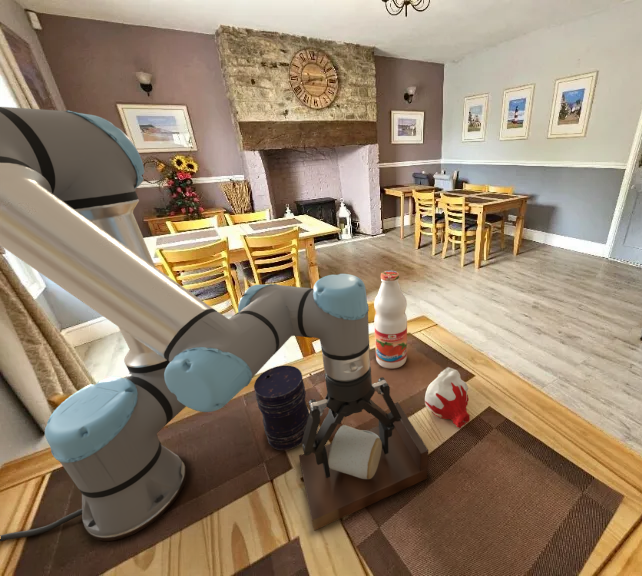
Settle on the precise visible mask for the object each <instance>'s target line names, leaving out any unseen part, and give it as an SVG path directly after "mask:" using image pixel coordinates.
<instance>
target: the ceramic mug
mask: <svg viewBox="0 0 642 576" xmlns="http://www.w3.org/2000/svg"><path fill="white" fill-rule="evenodd" d="M366 430H367V429H366ZM366 430H365V429H357V428H355V427H352V426H349V425H345V424H342V425H341V426H340V427H339V428H338V429H337V431H336V433H335V435H334V437H333V439H332V441H331V443H332V444H331V443H330V444H331V447H330V452H329V459H328V464H329V467H330V468H331V469H332V470H336V471H339V472H343V473H346V474H349V475H352V476H355V477H358V478H361V479H371V478H372V477H373V476H374V474H375V472H376V470H377V467H378V464H379V460H380V456H381V450H382V442H381V440H380V438H379V436H378V435H376V434H375V433H373V432H370V431H366Z"/></svg>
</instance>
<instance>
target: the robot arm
mask: <svg viewBox="0 0 642 576" xmlns="http://www.w3.org/2000/svg"><path fill="white" fill-rule="evenodd" d="M144 174H145V167H144V162H143V159H142V157H141V154H140V153H139V151H138V148H137V147H136V146H135V144H134V143H133V141H132V140H131V139H130V138H129V136H128V135H127V134H126V133H125V132H124V131H123V130H122V129H121V128H119V127H117V126H116V125H115V124H113V122H111V121H109V120H108V119H106V118H104V117H101V116H98V115H94V114H89V113H88V114H87V113H83V112H77V111H72V110H69V109H68V110H57V109H43V108H41V109H40V108H27V107H26V108H25V107H12V106H10V107H8V106H0V247H2V248H3V249H5V250H6V251H8V252H9V253H10V254H11V255H14V256H15V257H17V259H19V260H21V261H23V262H24V263H25V264H26V265H28V266H29V267H31V268H32V269H34V270H36V271H37V272H38V273H39V274H41V275H42V276H44V277H45V278H47V279H48V280H50V281H51V282H53V283H54V284H55V285H57V286H59V288H61V289H63V290H64V291H66V292H67V293H69V295H72V296H73V297H74V298H76V299H78V301H80V302H81V303H83V304H85V305H86V306H87V307H89V308H91V309H92V310H93V311H95V312H96V313H98V315H101V316H102V317H104V318H105V319H106V320H108V321H109V322H111V323H112V324H113V325H115V326H116V327H118V329H119V331H120V333H121V335H122V337H123V339H124V341H125V343H126V345H127V347H128V349H129V350H128V351H127V353H126V354H125V356H124V357H123V358H124V360H123V361H124V365H125V366H126V368H127V370H128V372H129V373H128V374H127V375H126V376H124V377H118V376H117V377H116V376H115V377H109V378H104V379H101V380H98V382H97V383H95V384H93V383H91V384H88V385H87V386H84V387H82V388H81V389H79V390H77V391H76V392H74V393H72V394H71V395H70V396H68V397H67V398H66V399H65V400H64V401H62V402H61V403H60V404H59V405H58V406H57V407H56V408H55V409H54V410H53V411H52V413H51V415H50V416H49V418H48V420H47V422H46V426H45V427H44V438H45V440H46V442H47V443H48V446H49V447H50V453H51V455H52V456H53V458H54V459H55V460H56V461H58V462H59V463H60V464H61V466H62V467H63V469H64V470H65V471H66V474H68V476H69V478H70V479H71V480H72V481H73V483H74V485H75V486H76V487H77V489H78V490H79V492H80V493H81V508H80V509H77V510H76V511H74V512H72V513H69V514H68V515H66V516H64V517H62V518H60V519H57V520H55V521H54V522H51V523H50V524H47V525H45V526H41V527H37V528H32V529H27V530H22V531H20V530H19V531H14V532H9V533H4V534H1V535H0V536H1V539H0V542H5V541H10V540H18V539H22V538H23V539H24V538H29V537H33V536H38V535H40V534H43V533H47V532H50V531H52V530H54V529H56V528H58V527H60V526H61V525H64V524H65V523H67V522H69V521H71V520H73V519H76V518H78V517H80V516H81V519H82V524H83V526H84V528H85V530H86V531H87V533H88V534H89V535H90V537H92V538H93V539H95V540H97V541H103V542H112V541H117V540H121V539H124V538H127V537H129V536H132V535H134V534H136V533H138V532H140V531H141V530H144V529H145V528H147V527H148V526H150V525H151V524H152V523H154V522H155V521H157V520H158V519H159V518H160V517H161V516H162V515H164V514H165V513H166V512H167V511H168V509H169V508H170V507H171V506H172V505H173V504H174V503H175V502H176V500H177V499H178V497H179V495H180V494H181V492H182V490H183V488H184V485H185V483H186V479H187V469H186V466H185V463H184V462H183V460H182V459H181V458H180V457H179V455H178V454H176V453H175V452H173V451H172V450H170V449H169V448H167V447H166V446H165V445H163V444H162V443H161V441H160V438H159V437H158V433H159V432H160V431H161V430H162V429H164V427H166V426H167V425H168V424H169V423H170V422H171V421H172V420H173V419H174V418H175V417H176V416H177V415H179V414H180V413H181V412H182V411H183V410H184V409H185V408H186V407H187V408H188V409H191V410H193V411H197V412H199V413H212V412H216V411H218V410H220V409H222V408H224V407H225V406H227V404H228V403H229V402H230V401H232V399H234V397H235V396H236V395H238V394H239V393H240V392H241V391H242V390H243V389H245V388H246V387H248V386H249V385H250V383H251V382H252V380H253V378H254V377H255V376H256V375H257V374H258V373H259V372H260V370H261V369H262V368H263V367H264V366H265V365H266V364H267V363H268V362H269V361H270V359H272V357H273V356H274V355H276V354H277V352H279V350H280V349H281V348H282V347H283V346H284V345H285V344H286V343H287V342H288V341H289V339H290V338H291V337H301V338H302V337H303V338H309V339H312V338H313V339H318V340H319V343H320V348H321V354H322V355H321V356H322V365H323V371H324V378H325V386H326V395H325V398H324V399H320V400H316V399H315V398H311V399H310V400H309V401H308V406H309V407H308V408H309V417H308V420H307V424H306V428H305V432H304V435H303V439H302V444H301V446H302V452H303V454H304V455H305V456H308V455H310V454H311V453H315V458H316V462H317V464H318V465H320V464H322V463H323V468H324V472H325V475H326V478H328V477H330V471H329V464H328V458H327V452H326V448H325V446H326V445H328V444H327V443H328V442H329V440H330V438H332V435H333V434H334V431H335V430H336V428H337V426H338V425H340V424H341V423H342V422H343V420H344V418H347V417H351V415H353V414H359V413H361V412H363V410H364V411H365V412H367V414H370V415H372V416H373V417H374V418H375V419H377V420H378V426H379V438H380V440H381V442H382V449H383V451H384V453H385V454H387V453H389V452H388V438H389V437H391V436H392V430H393V429H394V428H395V426H394V424H393V423H394V422H395V421H397V422H399V421H400V420H401V419H402V418H401V416H400V414H399V412H398V410H397V408H396V406H395V404H394V403H395V402H394V400H393V398H392V396H391V388H390V387H391V386H390V385H389V384H388V382H387V380H386V379H385V378H384V377H383V376H381V377H379V378H378V380H377V382H374V383H373V381H372V366H371V348H370V347H371V346H370V329H369V328H370V327H369V325H370V324H369V309H370V308H369V304H368V298H367V289H366V285H365V283H364V281H363V280H362V278H360V277H358V276H356V275H354V274H349V273H339V274H328V275H325V276H322V277H321V278H319V279H318V280H316V281H315V283H314V285H313V287H312V288H311V287H303V286H302V287H301V286H291V285H282V284H277V283H274V284H273V283H270V284H254V285H251V286H249V287H248V288H247V289H246V290H245V291H244V293H243V296H241V297H240V299H239V302H238V308H237V312H235V314H233V315H232V316H231V317H230V318H228V317H227V316H225V315H223V314H222V313H221V312H219V311H218V310H216V309H215V308H213V307H212V306H210V305H209V304H207V303H206V302H204V301H203V300H202V299H200V298H199V297H198V296H196V295H195V294H194V293H192V292H191V291H189V290H188V289H186V288H185V287H183V286H182V285H181V284H179V283H178V282H176V281H175V280H174V279H172V278H171V277H170V276H168V275H167V274H166V273H164V272H163V271H161V270H160V269H158V268H157V267H156V264H155V262H154V261H153V258H152V255H151V253H150V250H149V249H148V245H147V243H146V240H145V239H144V236H143V233H142V231H141V229H140V227H139V224H138V221H137V220H136V217H135V214H134V210H135V208H136V206H137V205H138V203H139V202H140V199H139V197H138V193H137V191H136V189H137V188H138V187H140V186H141V184H142V183H143V181H144V177H143V175H144ZM375 392H376V393H377V394H378V395H380V396H381V397H382V398H383V400H384V402H385V404H386V406H387V408H388V410H389V411H390V412H388V413H387V412H386V410H384V409H383V408H381V407H380V406H379V405H378V404H377V403H376V402H375V401H373V400H372V398H373V396H374V394H375ZM326 408H328V410H327V411H328V412H327V414H326V416H325V418H324V419H323V421H322V423H321V425H320V422H321V417H322V416H324V414H323V413H324V412H325V409H326ZM319 426H320V427H319Z"/></svg>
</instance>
